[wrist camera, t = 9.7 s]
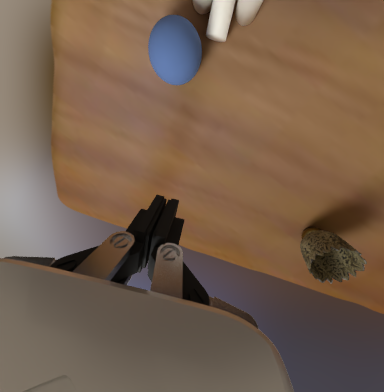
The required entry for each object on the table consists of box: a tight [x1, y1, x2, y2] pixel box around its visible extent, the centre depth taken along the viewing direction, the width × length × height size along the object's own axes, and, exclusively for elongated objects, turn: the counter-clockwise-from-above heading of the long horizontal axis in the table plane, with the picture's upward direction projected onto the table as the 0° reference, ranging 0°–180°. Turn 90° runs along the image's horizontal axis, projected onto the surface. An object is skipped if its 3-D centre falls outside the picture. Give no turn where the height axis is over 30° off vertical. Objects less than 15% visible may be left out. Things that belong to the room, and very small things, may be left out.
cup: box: [300, 227, 367, 283], centre depth 29 cm, size 8×7×8 cm
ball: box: [148, 15, 202, 85], centre depth 19 cm, size 6×6×6 cm
